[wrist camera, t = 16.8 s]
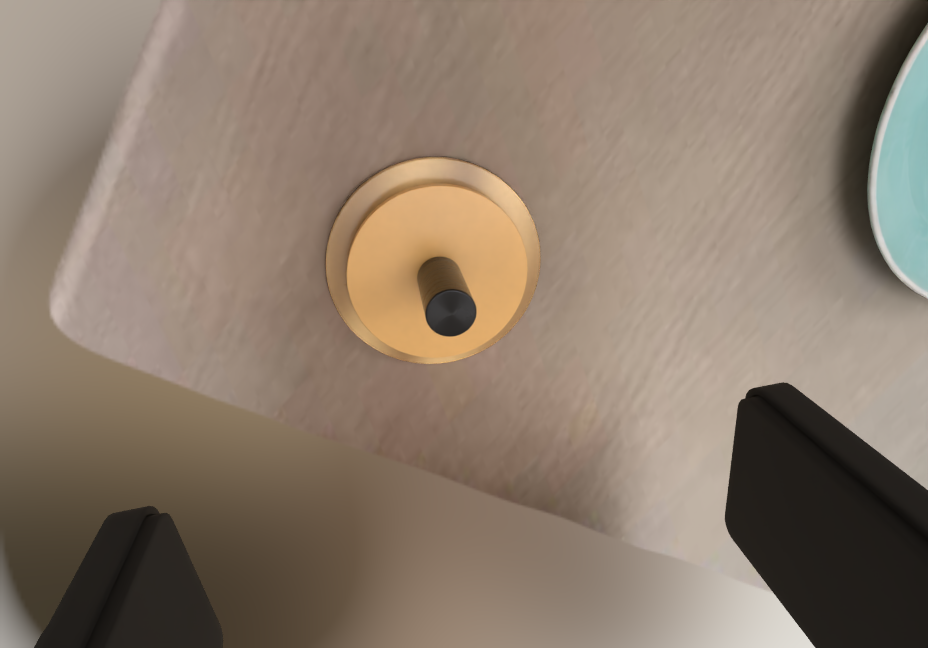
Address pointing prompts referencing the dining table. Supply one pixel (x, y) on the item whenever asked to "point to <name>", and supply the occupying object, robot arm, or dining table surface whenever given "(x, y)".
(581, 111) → the dining table surface
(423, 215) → the shaker lid
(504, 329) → the coaster
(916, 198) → the plate
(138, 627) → the robot arm
